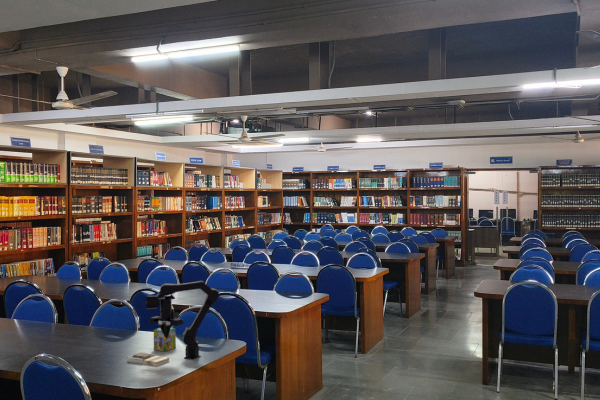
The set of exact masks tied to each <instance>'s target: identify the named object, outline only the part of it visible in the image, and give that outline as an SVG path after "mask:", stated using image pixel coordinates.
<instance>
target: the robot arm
mask: <svg viewBox="0 0 600 400" xmlns="http://www.w3.org/2000/svg"><path fill="white" fill-rule="evenodd" d="M159 289H160V290H159V292H157V294H156V295H146V299H145V300H146V301H145V309H146V310H151V309H154V310H155V309H157V308H158V307H160V308H159V310H158V312H159V313H160V316H159V315H156V316H152V317H151V316H150V318H149V323H148V324H152V325H153V324H155V323H157V322H158V324H157V327H158V328H160V329H161V330H162V332H163V334H164V336H165V337H168V334H169V331H170V329H171V328H173V327H177V326H180V325H183V324H184V319H182V318H180V313H179V312H176V311H174V309H173V308H172V300H175V299H176V298H175V296H174V294H176V293H178V292H186V291H192V290H201V291H202V292H203V293H205V298H204V302H203V304H202V305H201V307H200V309H199V311H198V313H197V315H196V316H195V318H194V320H193V322H192V323H191V325H190V326H189V327H187V326H186V327H185V330H184V331H183V333H182V341H183V343H184V344H185V345H186V346H185V352H184V353H185V356H184V357H183V358H184V359H187V360H196V359H199V358H201V355H200V347H199V342H198V339H197V338H196V336H197V334H198V333H197V332H198V330H199V328H200V326H201V324H202V322H203V321H204V319H205V317H206V316H207V314H208V312H209V310H210V308H211V307H212V306H213V305H214V304H215V303H216V301H217V300H218V299H219V297H220V293H219V291H218V290H217V289H216V288H213V287H210V286H209V285H208V284H206V283H205V282H204V281H203V280H198V281H192V282H186V283H184V282H183V283H163V284H161V285H160V288H159Z"/></svg>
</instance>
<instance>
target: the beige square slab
mask: <svg viewBox="0 0 600 400" xmlns="http://www.w3.org/2000/svg"><path fill="white" fill-rule="evenodd" d="M169 362H170V357H168V356H161V355H156V356H154V357H151V358H148V359H146V360H144V364H143V365H149V366H155V367H158V366H161V365H164V364H166V363H169Z"/></svg>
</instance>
